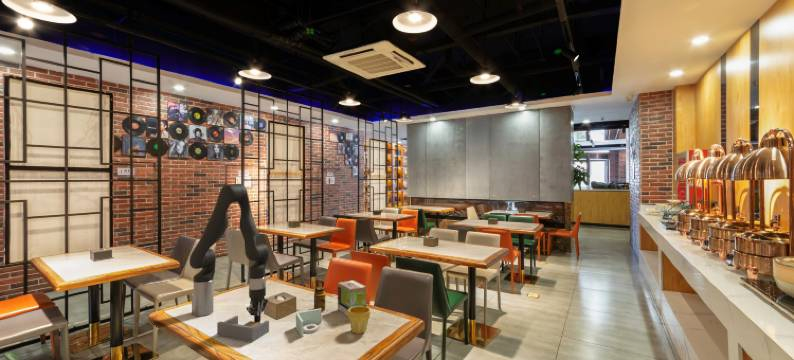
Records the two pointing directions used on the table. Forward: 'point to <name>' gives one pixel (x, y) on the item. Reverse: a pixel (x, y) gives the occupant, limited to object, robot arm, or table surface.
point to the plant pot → (358, 318)
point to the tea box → (350, 295)
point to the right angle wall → (308, 321)
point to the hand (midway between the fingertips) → (257, 322)
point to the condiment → (319, 299)
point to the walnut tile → (252, 324)
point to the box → (241, 330)
